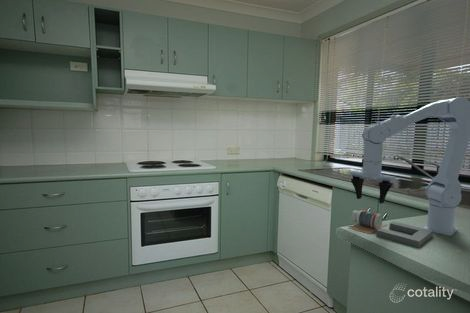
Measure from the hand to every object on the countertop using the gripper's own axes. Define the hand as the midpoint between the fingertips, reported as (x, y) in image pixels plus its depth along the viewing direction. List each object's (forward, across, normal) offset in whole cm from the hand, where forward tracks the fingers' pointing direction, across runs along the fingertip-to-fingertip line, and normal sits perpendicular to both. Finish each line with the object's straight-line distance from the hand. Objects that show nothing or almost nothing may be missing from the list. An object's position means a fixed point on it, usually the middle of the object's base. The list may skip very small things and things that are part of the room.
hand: (370, 200), depth 99 cm
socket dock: (+9, +10, 0) cm, 14 cm away
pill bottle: (+6, +4, -1) cm, 8 cm away
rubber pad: (+9, 0, 0) cm, 9 cm away
